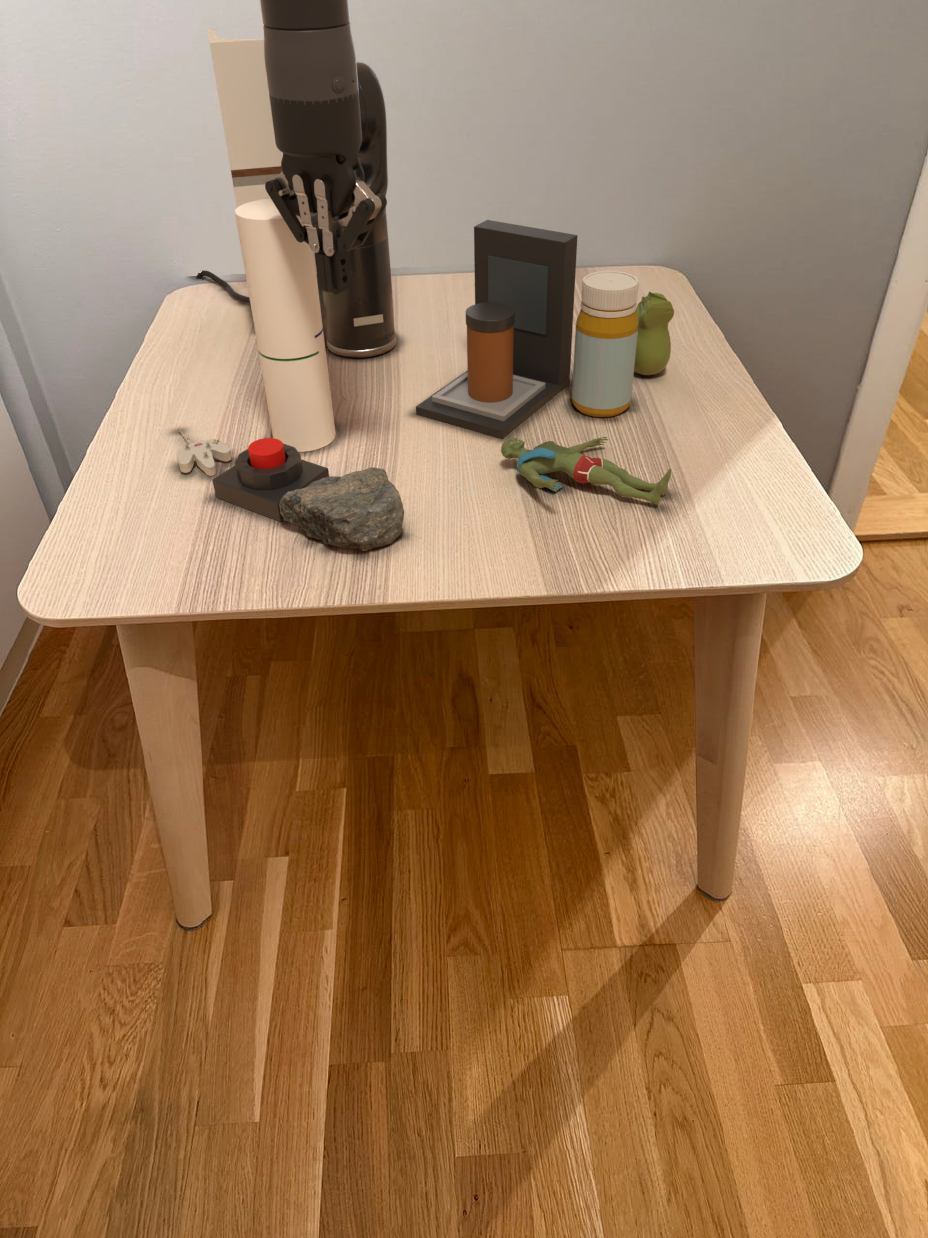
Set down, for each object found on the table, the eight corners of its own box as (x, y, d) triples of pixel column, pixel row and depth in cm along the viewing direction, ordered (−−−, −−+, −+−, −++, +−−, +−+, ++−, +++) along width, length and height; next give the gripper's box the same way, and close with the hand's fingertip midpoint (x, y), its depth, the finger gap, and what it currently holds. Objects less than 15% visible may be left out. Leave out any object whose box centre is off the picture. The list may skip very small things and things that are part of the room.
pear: (653, 360, 121) (662, 283, 115) (676, 376, 118) (686, 298, 111) (616, 368, 120) (623, 291, 113) (638, 385, 116) (646, 306, 110)
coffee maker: (487, 363, 122) (487, 219, 110) (569, 383, 117) (577, 234, 105) (415, 414, 111) (406, 260, 100) (502, 438, 106) (503, 280, 95)
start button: (243, 464, 96) (240, 449, 95) (266, 449, 98) (264, 434, 97) (269, 473, 94) (266, 458, 93) (293, 458, 96) (290, 443, 95)
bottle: (628, 421, 109) (641, 293, 99) (568, 416, 110) (575, 289, 100) (632, 394, 114) (644, 270, 104) (574, 390, 115) (582, 267, 106)
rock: (413, 504, 96) (410, 461, 93) (400, 561, 88) (396, 516, 85) (294, 501, 97) (287, 458, 94) (271, 557, 89) (262, 513, 86)
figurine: (648, 499, 87) (473, 454, 93) (640, 537, 89) (469, 491, 95) (686, 448, 100) (530, 412, 105) (678, 483, 102) (526, 445, 107)
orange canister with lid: (498, 406, 109) (498, 324, 103) (458, 396, 112) (456, 314, 105) (529, 383, 114) (530, 302, 108) (489, 373, 117) (489, 293, 110)
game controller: (198, 483, 100) (193, 462, 98) (137, 451, 106) (131, 430, 104) (240, 462, 103) (236, 441, 102) (179, 432, 109) (174, 411, 108)
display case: (332, 323, 133) (300, 37, 111) (257, 331, 132) (209, 42, 109) (323, 295, 142) (291, 24, 120) (252, 302, 140) (207, 29, 118)
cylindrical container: (345, 426, 109) (320, 200, 93) (319, 455, 104) (287, 222, 88) (291, 418, 111) (257, 195, 95) (262, 446, 106) (221, 216, 90)
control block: (215, 497, 98) (208, 464, 95) (267, 464, 103) (261, 431, 100) (280, 521, 94) (274, 487, 91) (330, 485, 99) (326, 452, 97)
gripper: (403, 86, 78) (413, 292, 89) (285, 70, 84) (308, 265, 95) (345, 104, 73) (363, 319, 84) (224, 86, 79) (256, 289, 90)
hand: (334, 290), depth 90 cm, fingers closed
